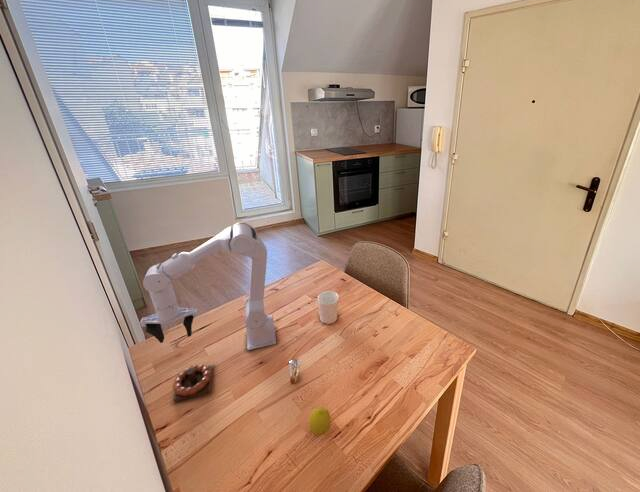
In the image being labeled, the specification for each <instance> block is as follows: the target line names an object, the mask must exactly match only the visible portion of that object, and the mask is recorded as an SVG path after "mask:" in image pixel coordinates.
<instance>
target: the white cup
mask: <svg viewBox="0 0 640 492" xmlns="http://www.w3.org/2000/svg"><path fill="white" fill-rule="evenodd" d="M317 307H318V313H319V320H320V322H321V323H324V324H327V325H329V324H333V323H334V322H336V320H338V313H339V294H338V293H337V292H336V291H333V290H324V291H322V292H321V293H319V294H318V295H317Z"/></svg>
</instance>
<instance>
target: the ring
mask: <svg viewBox="0 0 640 492" xmlns="http://www.w3.org/2000/svg"><path fill="white" fill-rule="evenodd" d="M300 365H301V363H300V358H299V357H294V358H292V359H291V360H290V361H289V362H288V367H289V379H290V380H289V381H290V384H291V385H296V383H297V381H298V380H299V379H298V378H299V375H300V374H299V373H300ZM293 370H294V373H293Z"/></svg>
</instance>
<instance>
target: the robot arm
mask: <svg viewBox="0 0 640 492" xmlns="http://www.w3.org/2000/svg"><path fill="white" fill-rule="evenodd" d="M220 251H222V252H225V253H228V254H231V253H232V252H233V253H235V254H237V255H241V256H245V257H248V258H250V270H249V271H250V272H249V289H248V294H247V299H246V300H245V302H244V308H245V310H244V311H245V319H244V321H245V322H244V324H245V328H246V335H247V336H246V337H247V339H246V340H247V341H246V345H247V347H246V348H247V349H246V350H247V351H251V350H255V349H260V348H264V347H267V346H273V345H276V344H277V338H276V334H277V330H276V328H275V321H274V315H273V314H267V313H266V311H265V300H264V297H265V288H266V287H265V286H266V273H267V264H268V263H267V261H268V250H267V246H266V245H265V243H264V241H263V240H262V239H261V237H260V235H259V234H258V232H257V230H256V228H254V227H253V226H252V225H251V224H249V223H247V222H242V221H239V222H237V223H235V224H233V225H232V226H228V227H226V228H225V229H224V230H222V231H221V232H219V233H218V234H216V235H215V236H213V237H212V238H210V239H209V240H207V241H205V242H204V243H202V244H201V245H199V246H198V247H196V248H195V249H193V250H191V251H190V252H186V251H182V252H179V253H177V252H175V253H173V254H172V255H171V258H169V259H166V260H165V261H164V262H162V263H160V262H159V263H157V264H154V265H152V266H150V267H149V268H148V269H147V272H146V274H145V276H144V278H143V280H142V287H143V288H144V289H145V290H146V291H148V292H149V296H150V299H151V302H152V305H153V309H154V311H155V313H153V314H150V315H148V316H144V317H142V318H141V319H140V322H139V323H140V325H141V328H145V327H146V328H145V332H146V333H147V334H150V335H152V337H154V338H155V339H157V341H158V342H159V343H160V344H162V343H164V340H165V335H164V334H165V333H164V332H163V328H162V325H167V324H171V323H173V322H176V321H179V320H181V319H183V322H182V324H183V326H184V328H185V331H186V334H187V337H188V338H190V337H192V333H193V331H192V330H193V329H192V327H193V326H192V325H193V321H194V318H195V317H198V314H199V313H198V312H199V311H198V308H197V307H180V306H179V303H178V300H177V299H178V298H177V296H176V292H175V289H174V286H173V283H172V282H173V281H176V279H178V278H180V277H182V276H183V275H185V274H187V273H189V272H190V271H192V270H194V269H195V268H196V263H199V262H200V261H202V260H205V259H206V258H208V257H210V256H212V255H214V254H217V253H218V252H220Z"/></svg>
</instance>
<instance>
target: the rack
mask: <svg viewBox="0 0 640 492" xmlns="http://www.w3.org/2000/svg"><path fill="white" fill-rule="evenodd" d="M206 366H207V365H206ZM207 367H208V368H209V370H210V371H211V374H210V380H209V381H208V383H207V384H206V385H205V387H204V388H203V389H201V390H200V391H198V392H197V393H195V394H191V395H188V396H183V395H178V394H176V392H175V391H174V392H175V393H174V396H173V402H174V403H179V402H183V401H186V400H190V399H194V398H196V397H201V396H204V395H209V394H210V392H211V384H212V377H213V365H208V366H207ZM187 375H188V376H186V377H185V378H184V380H183V381H182V386H183V387H186V388H188V387H192V386H195V385H196V384H198V383H199V382H200V381H201V379H202V378H203V374H202V373H201V372H195V369H194V368H191V369H189V370H188V371H187Z"/></svg>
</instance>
